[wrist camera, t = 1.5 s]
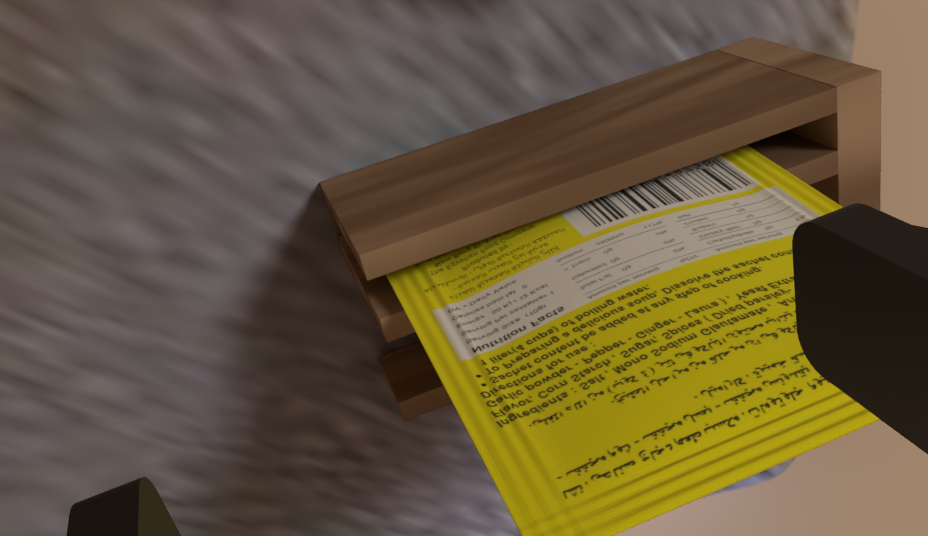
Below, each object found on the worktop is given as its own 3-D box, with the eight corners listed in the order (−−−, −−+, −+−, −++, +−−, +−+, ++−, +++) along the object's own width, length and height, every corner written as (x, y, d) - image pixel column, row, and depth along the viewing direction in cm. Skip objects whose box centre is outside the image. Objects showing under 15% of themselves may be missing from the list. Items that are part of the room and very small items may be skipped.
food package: (348, 209, 37) (540, 579, 21) (342, 187, 36) (534, 550, 20) (665, 103, 40) (1046, 357, 24) (664, 80, 39) (1056, 325, 23)
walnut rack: (319, 181, 36) (358, 254, 29) (754, 36, 40) (881, 70, 33) (383, 375, 41) (430, 477, 34) (766, 229, 44) (879, 294, 37)
